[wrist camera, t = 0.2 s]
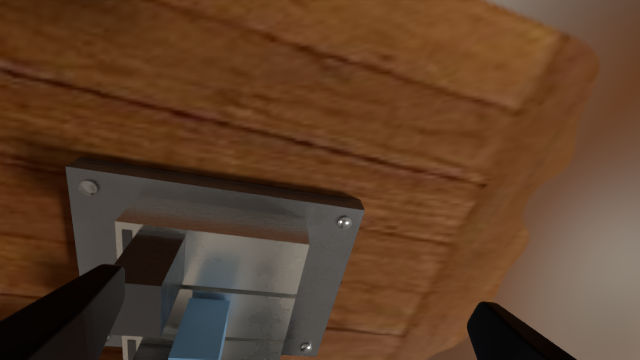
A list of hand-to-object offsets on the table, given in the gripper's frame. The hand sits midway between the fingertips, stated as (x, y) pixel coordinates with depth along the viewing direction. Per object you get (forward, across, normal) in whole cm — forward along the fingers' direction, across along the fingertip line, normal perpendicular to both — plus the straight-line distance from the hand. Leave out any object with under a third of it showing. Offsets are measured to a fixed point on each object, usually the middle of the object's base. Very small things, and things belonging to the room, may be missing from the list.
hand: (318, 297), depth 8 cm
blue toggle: (+10, +4, +12) cm, 16 cm away
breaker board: (+14, +4, +12) cm, 19 cm away
